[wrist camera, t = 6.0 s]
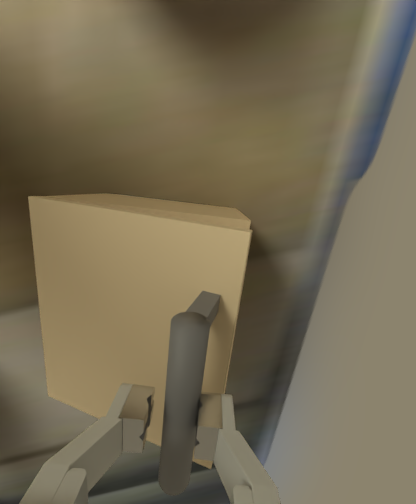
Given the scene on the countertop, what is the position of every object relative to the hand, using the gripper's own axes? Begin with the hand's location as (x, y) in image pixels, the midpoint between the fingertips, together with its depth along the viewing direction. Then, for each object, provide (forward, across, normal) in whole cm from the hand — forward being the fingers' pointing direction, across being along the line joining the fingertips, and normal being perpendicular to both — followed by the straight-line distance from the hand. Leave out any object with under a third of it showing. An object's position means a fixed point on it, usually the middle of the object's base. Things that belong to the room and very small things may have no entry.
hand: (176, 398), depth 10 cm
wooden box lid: (+5, +4, 0) cm, 6 cm away
